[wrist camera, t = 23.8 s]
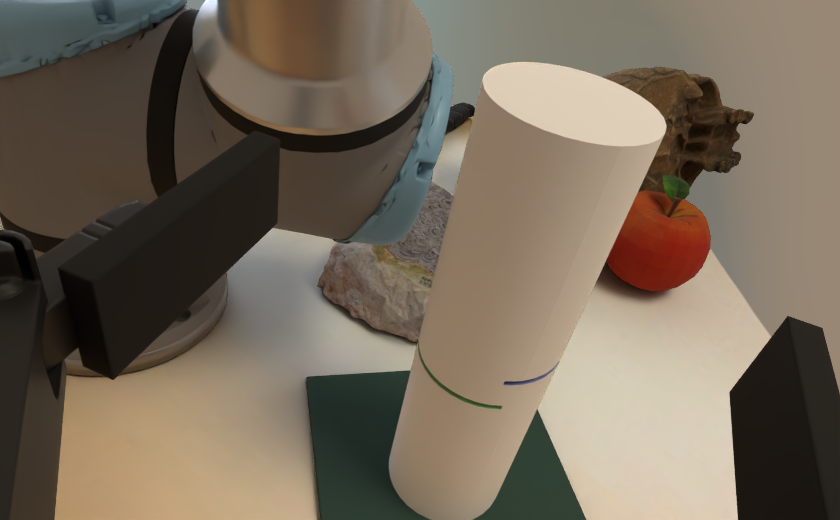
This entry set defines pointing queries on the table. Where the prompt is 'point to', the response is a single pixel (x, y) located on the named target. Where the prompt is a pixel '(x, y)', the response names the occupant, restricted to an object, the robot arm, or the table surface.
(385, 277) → the geological specimen
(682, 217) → the fruit
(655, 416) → the table surface
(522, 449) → the mat
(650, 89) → the skull
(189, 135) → the robot arm
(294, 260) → the table surface
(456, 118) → the knife
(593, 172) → the cylindrical container
